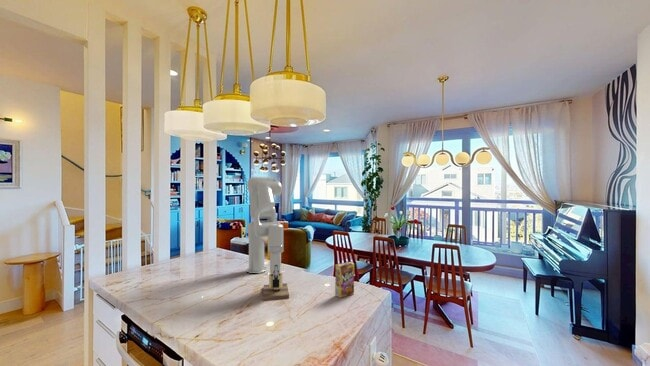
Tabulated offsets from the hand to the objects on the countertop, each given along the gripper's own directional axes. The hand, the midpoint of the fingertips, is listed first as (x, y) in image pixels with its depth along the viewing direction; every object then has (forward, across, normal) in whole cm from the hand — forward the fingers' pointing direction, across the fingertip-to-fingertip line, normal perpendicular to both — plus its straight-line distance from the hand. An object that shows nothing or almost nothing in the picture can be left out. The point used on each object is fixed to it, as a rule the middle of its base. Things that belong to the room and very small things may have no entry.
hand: (275, 284), depth 130 cm
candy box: (+4, +10, +33) cm, 35 cm away
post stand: (+4, 0, 0) cm, 4 cm away
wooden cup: (+1, 0, 0) cm, 1 cm away
